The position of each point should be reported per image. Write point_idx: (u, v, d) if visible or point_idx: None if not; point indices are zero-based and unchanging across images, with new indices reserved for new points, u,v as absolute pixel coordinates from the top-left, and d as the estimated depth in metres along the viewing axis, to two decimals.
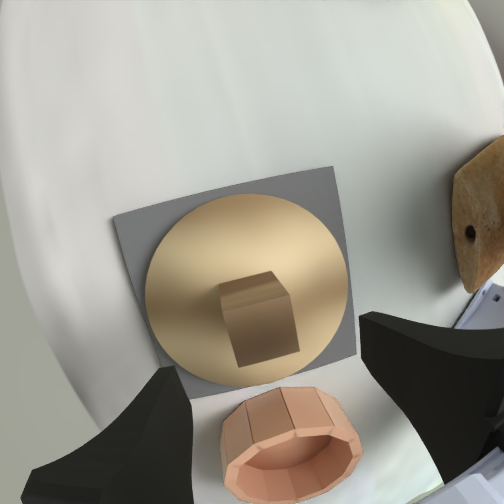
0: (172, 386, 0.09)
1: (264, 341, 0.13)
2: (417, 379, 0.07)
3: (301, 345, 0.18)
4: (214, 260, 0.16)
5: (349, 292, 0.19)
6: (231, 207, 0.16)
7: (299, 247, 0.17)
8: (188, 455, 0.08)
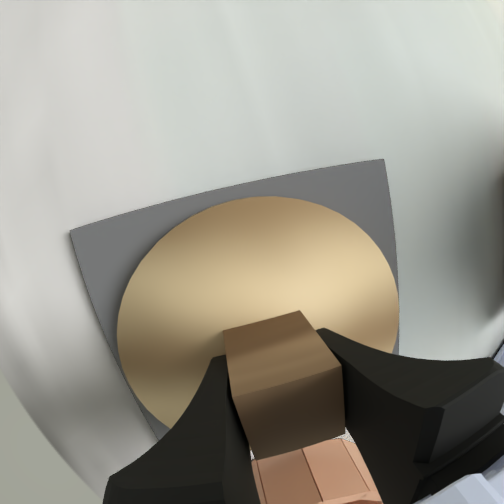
0: None
1: (296, 429, 0.08)
2: (357, 406, 0.07)
3: None
4: (217, 298, 0.11)
5: None
6: (243, 217, 0.10)
7: (340, 276, 0.11)
8: (247, 444, 0.08)
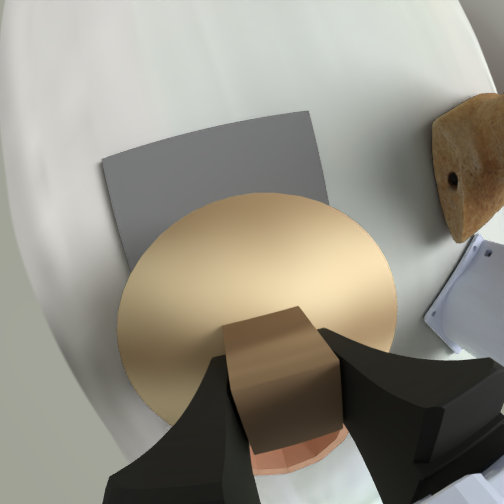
0: None
1: (294, 423, 0.08)
2: (357, 406, 0.07)
3: None
4: (216, 293, 0.11)
5: None
6: (242, 213, 0.10)
7: (339, 272, 0.11)
8: (247, 444, 0.08)
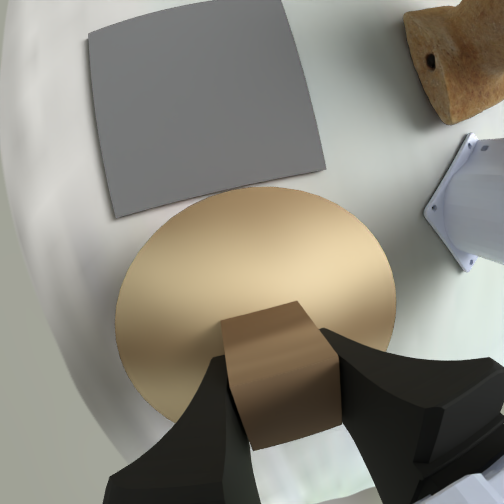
0: None
1: (293, 419, 0.08)
2: (357, 406, 0.07)
3: None
4: (215, 288, 0.11)
5: (306, 93, 0.17)
6: (241, 207, 0.10)
7: (338, 267, 0.11)
8: (247, 444, 0.08)
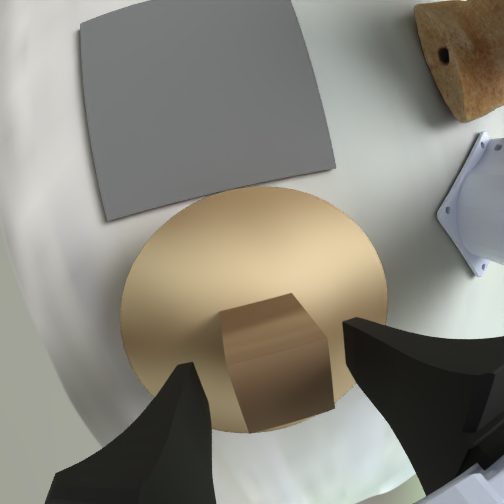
0: (192, 382, 0.09)
1: (287, 401, 0.09)
2: (398, 388, 0.07)
3: None
4: (214, 280, 0.12)
5: (314, 85, 0.15)
6: (238, 205, 0.11)
7: (330, 261, 0.12)
8: (208, 452, 0.08)
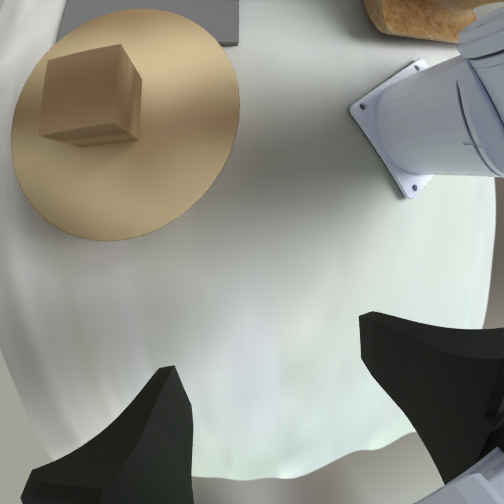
0: (172, 386, 0.09)
1: (75, 99, 0.08)
2: (417, 379, 0.07)
3: (160, 189, 0.13)
4: None
5: None
6: (123, 18, 0.11)
7: (182, 59, 0.12)
8: (188, 455, 0.08)
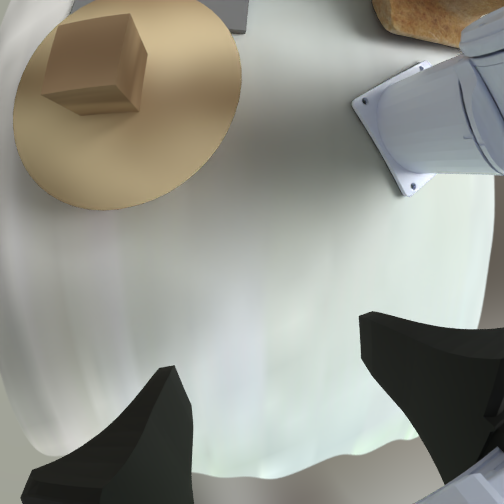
0: (172, 386, 0.09)
1: (80, 62, 0.08)
2: (417, 379, 0.07)
3: (155, 160, 0.12)
4: None
5: None
6: None
7: (188, 38, 0.11)
8: (188, 455, 0.08)
